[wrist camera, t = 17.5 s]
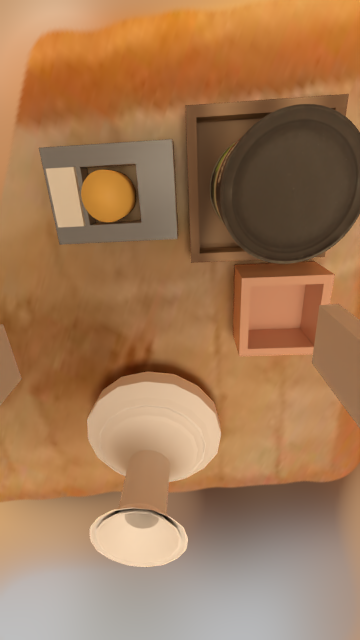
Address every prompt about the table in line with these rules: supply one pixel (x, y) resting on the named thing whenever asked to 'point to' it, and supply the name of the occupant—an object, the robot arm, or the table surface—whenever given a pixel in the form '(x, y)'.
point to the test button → (108, 195)
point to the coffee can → (290, 184)
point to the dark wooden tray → (203, 153)
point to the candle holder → (149, 461)
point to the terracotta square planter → (278, 307)
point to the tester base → (72, 162)
